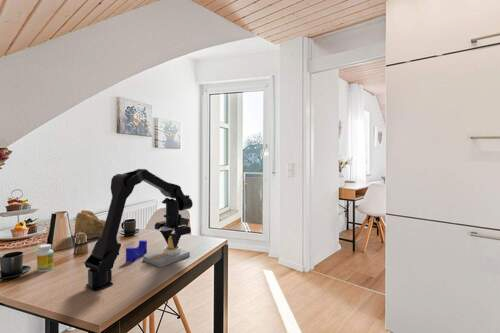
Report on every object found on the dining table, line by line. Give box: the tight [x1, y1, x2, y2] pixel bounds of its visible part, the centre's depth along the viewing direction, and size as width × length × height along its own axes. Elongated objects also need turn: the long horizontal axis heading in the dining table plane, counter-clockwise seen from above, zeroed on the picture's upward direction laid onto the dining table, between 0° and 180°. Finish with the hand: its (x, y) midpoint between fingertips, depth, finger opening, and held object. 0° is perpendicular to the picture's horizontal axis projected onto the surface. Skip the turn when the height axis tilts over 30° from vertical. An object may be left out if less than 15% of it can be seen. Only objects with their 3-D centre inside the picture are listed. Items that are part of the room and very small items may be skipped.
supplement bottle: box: [36, 243, 55, 273], centre depth 112 cm, size 5×5×10 cm
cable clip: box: [125, 239, 148, 263], centre depth 127 cm, size 12×4×6 cm, turn 171°
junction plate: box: [142, 245, 191, 268], centre depth 126 cm, size 16×12×4 cm
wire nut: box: [167, 236, 177, 250], centre depth 128 cm, size 4×4×6 cm
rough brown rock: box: [73, 209, 106, 240], centre depth 156 cm, size 23×17×15 cm
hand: (172, 246), depth 128 cm, fingers closed on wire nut, 4 cm apart
